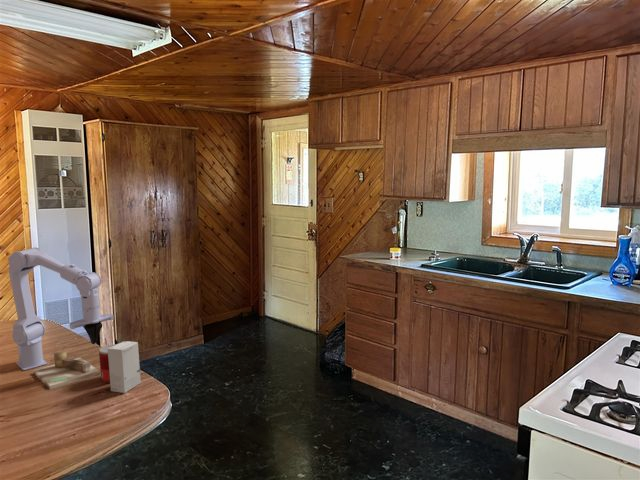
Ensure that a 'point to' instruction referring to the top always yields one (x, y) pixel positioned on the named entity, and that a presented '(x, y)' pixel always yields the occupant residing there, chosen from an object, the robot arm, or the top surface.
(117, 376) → the skincare box
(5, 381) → the top surface
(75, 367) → the friction peg
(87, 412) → the top surface
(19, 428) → the top surface
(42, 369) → the board
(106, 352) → the canned food
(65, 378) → the green tile
